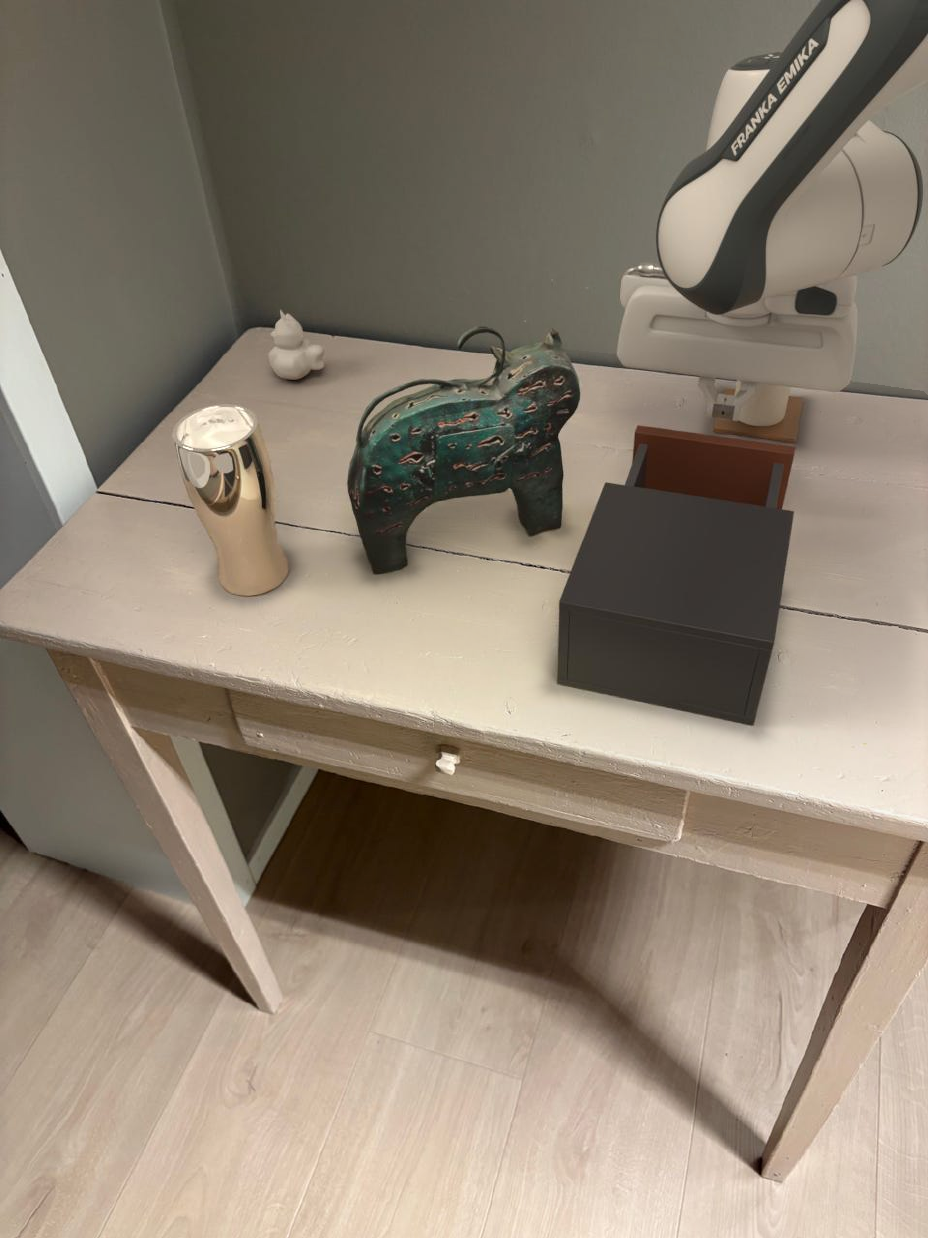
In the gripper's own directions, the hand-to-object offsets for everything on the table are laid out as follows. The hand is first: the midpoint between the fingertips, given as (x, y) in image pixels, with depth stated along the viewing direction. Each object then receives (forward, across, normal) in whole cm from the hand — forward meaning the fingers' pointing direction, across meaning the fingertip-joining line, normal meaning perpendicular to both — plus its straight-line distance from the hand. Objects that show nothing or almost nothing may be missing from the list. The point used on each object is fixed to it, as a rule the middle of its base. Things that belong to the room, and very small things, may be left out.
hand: (722, 416), depth 89 cm
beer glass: (+5, -36, -27) cm, 45 cm away
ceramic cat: (+5, -19, -18) cm, 27 cm away
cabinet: (+5, 0, -25) cm, 25 cm away
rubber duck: (+5, -47, +5) cm, 48 cm away
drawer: (+4, 0, -12) cm, 13 cm away
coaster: (+5, +3, +9) cm, 11 cm away
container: (+5, +3, +9) cm, 11 cm away
